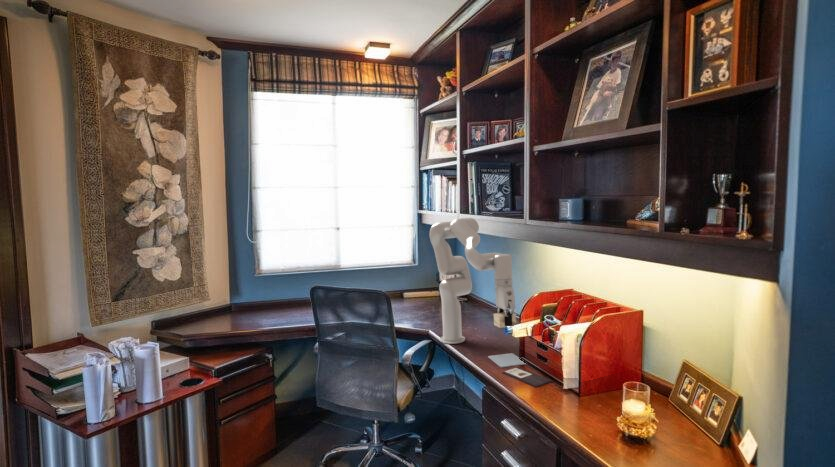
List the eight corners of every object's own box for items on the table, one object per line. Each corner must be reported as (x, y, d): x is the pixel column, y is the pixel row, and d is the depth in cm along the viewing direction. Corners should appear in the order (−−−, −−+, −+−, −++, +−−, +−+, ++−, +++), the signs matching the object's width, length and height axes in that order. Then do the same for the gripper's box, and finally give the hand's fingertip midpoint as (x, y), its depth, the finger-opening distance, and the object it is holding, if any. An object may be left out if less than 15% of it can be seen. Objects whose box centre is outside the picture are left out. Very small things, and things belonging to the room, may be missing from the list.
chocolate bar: (535, 386, 167) (502, 372, 183) (535, 388, 167) (502, 374, 183) (552, 380, 172) (518, 367, 187) (552, 382, 172) (518, 369, 187)
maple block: (510, 322, 201) (510, 311, 201) (516, 325, 196) (516, 314, 195) (494, 324, 199) (493, 313, 198) (499, 327, 193) (499, 316, 193)
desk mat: (487, 356, 202) (487, 356, 202) (512, 353, 205) (512, 353, 205) (500, 367, 189) (500, 366, 189) (527, 364, 192) (527, 363, 192)
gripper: (521, 284, 189) (522, 327, 190) (502, 279, 205) (503, 318, 206) (505, 286, 187) (506, 329, 188) (487, 280, 203) (488, 320, 204)
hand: (505, 323), depth 197 cm, fingers closed on maple block, 5 cm apart
